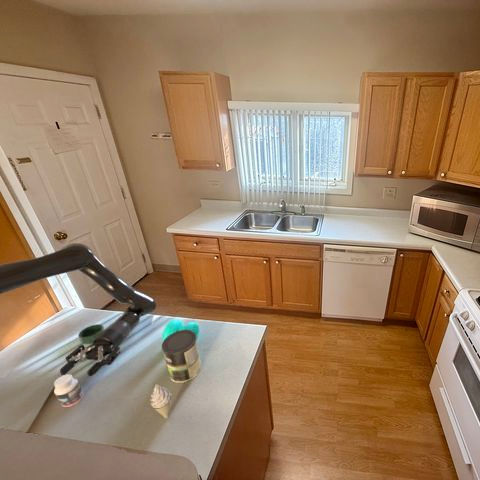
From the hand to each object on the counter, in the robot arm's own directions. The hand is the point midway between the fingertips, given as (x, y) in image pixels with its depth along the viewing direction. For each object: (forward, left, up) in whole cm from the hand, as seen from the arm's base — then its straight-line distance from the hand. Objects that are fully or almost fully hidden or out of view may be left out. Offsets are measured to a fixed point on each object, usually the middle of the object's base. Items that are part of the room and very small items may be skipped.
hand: (75, 373), depth 80 cm
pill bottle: (-1, -3, -7) cm, 8 cm away
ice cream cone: (+27, -19, -7) cm, 34 cm away
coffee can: (+31, -3, -7) cm, 32 cm away
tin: (-5, +26, -7) cm, 27 cm away
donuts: (+29, +11, -7) cm, 31 cm away
